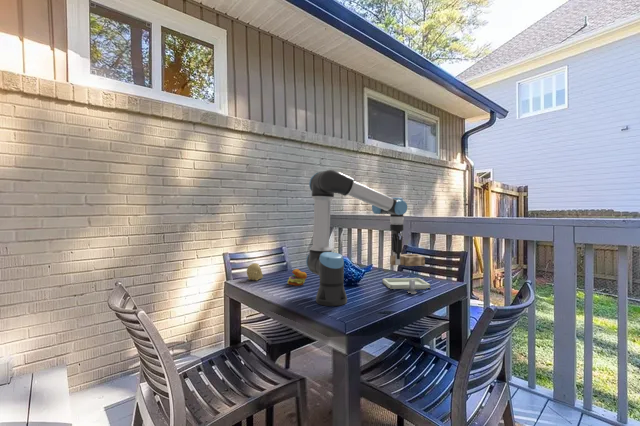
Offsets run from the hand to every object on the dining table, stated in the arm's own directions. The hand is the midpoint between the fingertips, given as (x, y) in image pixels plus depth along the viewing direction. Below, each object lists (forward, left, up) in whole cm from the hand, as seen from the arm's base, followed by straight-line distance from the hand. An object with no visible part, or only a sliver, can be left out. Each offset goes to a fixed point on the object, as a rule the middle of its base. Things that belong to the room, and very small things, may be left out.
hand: (396, 263), depth 190 cm
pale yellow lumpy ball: (-85, +21, -13) cm, 88 cm away
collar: (+6, 0, 0) cm, 6 cm away
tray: (+5, 0, -13) cm, 14 cm away
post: (+3, -16, -13) cm, 21 cm away
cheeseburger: (-58, +8, -13) cm, 60 cm away
